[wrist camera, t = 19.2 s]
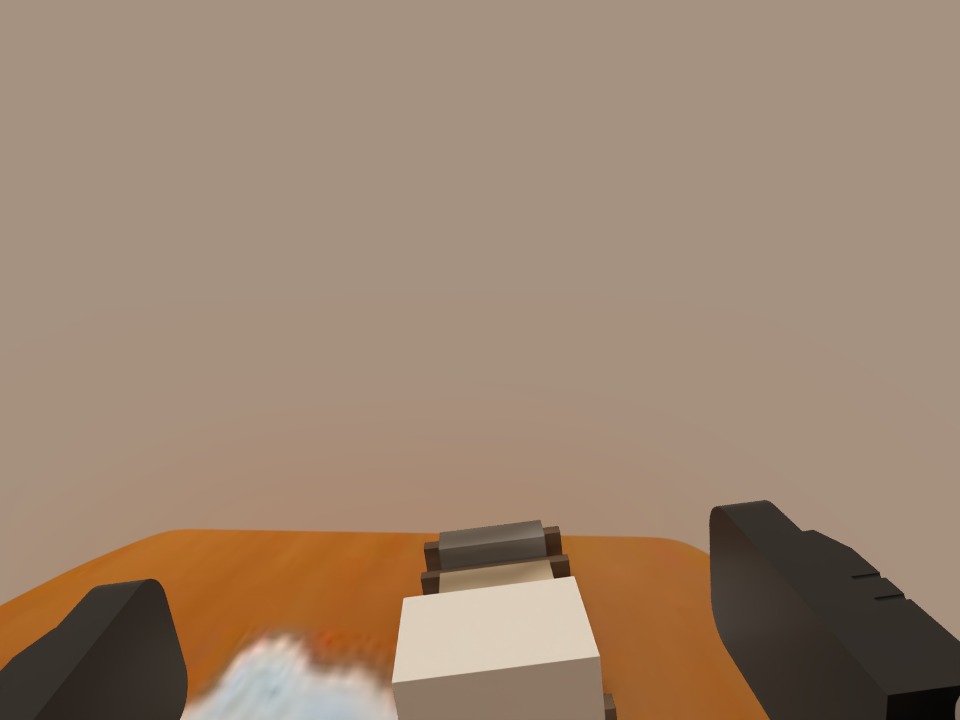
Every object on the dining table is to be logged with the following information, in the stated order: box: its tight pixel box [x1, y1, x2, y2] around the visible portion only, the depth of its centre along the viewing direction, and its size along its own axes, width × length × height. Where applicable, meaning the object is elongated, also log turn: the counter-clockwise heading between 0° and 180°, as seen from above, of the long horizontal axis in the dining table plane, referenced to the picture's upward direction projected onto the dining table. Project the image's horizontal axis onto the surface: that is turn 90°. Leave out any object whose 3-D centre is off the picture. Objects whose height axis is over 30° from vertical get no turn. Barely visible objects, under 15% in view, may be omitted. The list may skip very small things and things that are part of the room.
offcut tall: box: [439, 520, 547, 570], centre depth 48 cm, size 2×8×6 cm, turn 92°
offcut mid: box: [439, 560, 554, 593], centre depth 44 cm, size 2×8×4 cm, turn 93°
